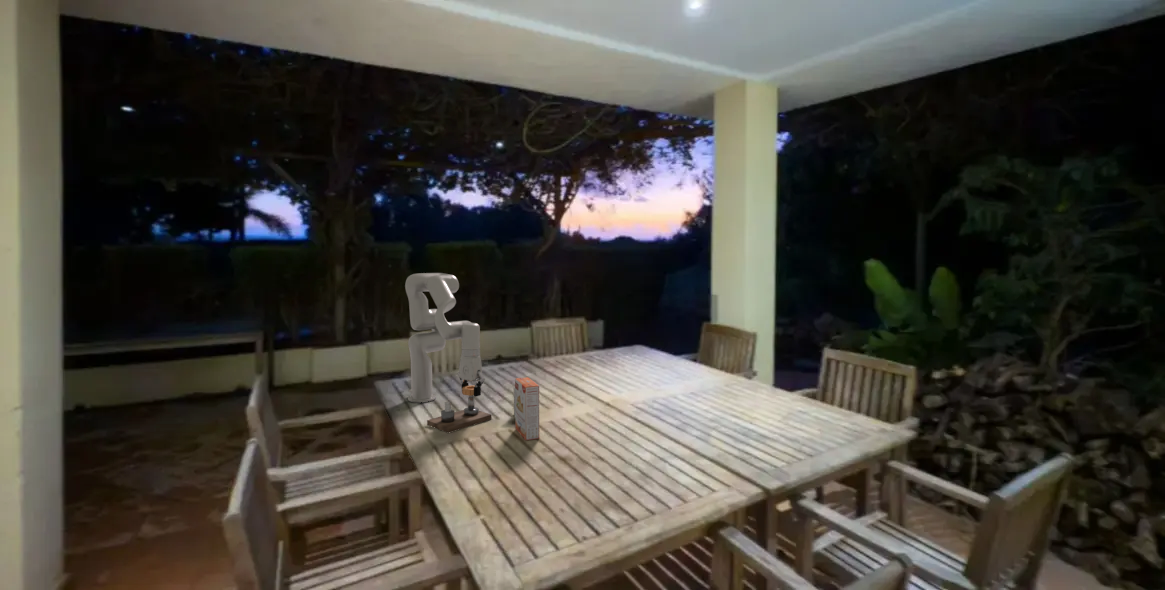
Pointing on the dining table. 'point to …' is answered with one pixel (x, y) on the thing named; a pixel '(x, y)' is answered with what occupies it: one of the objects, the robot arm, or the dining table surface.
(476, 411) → the hub
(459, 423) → the base board
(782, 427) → the dining table surface
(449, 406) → the gray oval domed knob
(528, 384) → the cracker box
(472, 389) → the ring
